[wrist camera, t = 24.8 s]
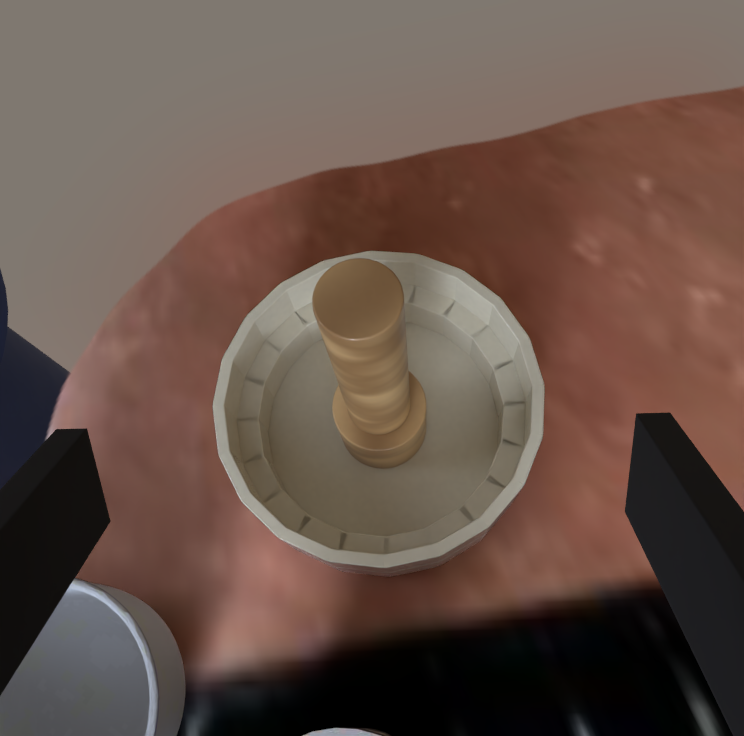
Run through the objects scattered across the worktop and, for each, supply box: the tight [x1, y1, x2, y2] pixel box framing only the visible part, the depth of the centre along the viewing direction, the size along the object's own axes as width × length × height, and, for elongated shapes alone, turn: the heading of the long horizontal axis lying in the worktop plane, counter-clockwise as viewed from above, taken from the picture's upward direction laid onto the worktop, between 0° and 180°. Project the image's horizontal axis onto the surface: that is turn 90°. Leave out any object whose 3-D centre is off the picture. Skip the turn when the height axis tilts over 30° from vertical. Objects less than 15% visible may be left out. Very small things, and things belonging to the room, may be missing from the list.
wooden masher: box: [312, 258, 427, 469], centre depth 31 cm, size 5×5×16 cm
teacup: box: [0, 578, 185, 736], centre depth 32 cm, size 14×11×8 cm
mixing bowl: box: [213, 251, 545, 577], centre depth 37 cm, size 16×16×6 cm
